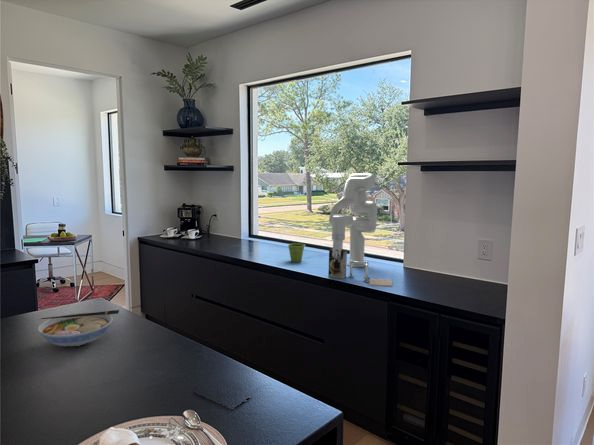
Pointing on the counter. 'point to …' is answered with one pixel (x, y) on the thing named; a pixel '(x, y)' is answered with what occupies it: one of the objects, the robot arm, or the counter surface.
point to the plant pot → (296, 252)
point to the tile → (381, 282)
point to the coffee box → (343, 261)
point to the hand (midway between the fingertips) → (337, 266)
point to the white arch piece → (365, 270)
